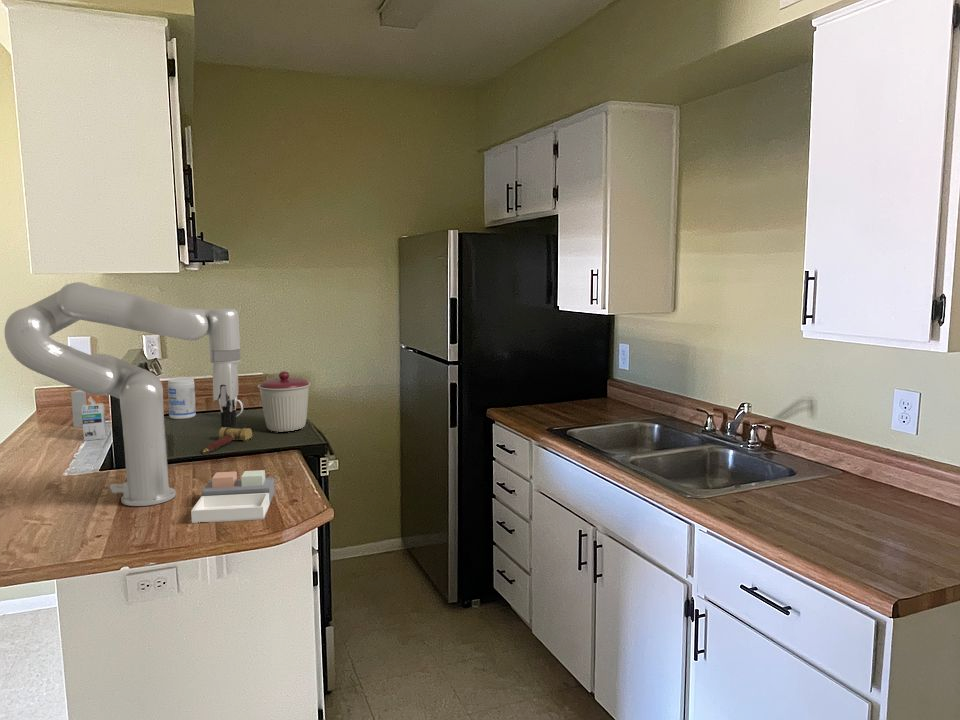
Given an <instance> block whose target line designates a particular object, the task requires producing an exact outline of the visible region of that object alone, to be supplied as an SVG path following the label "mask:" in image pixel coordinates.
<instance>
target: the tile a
mask: <svg viewBox="0 0 960 720" xmlns="http://www.w3.org/2000/svg"><path fill="white" fill-rule="evenodd" d="M237 473H238V472H237V471H220V472H219V471H217V472H215V473H214V475H212V478H211V480H212V488H223V487H234V485H235V484H236V482H237V479H238V474H237Z"/></svg>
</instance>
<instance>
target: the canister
mask: <svg viewBox="0 0 960 720" xmlns="http://www.w3.org/2000/svg"><path fill="white" fill-rule="evenodd" d="M310 386H311V382H309V381H308V380H306V379H304V378H299V377H290V373H289V372H288V371H284V370H283V371H281V372H279V374H278V378H276V377H275V378H271V379H266V380H264V381H261V383H260V384H258V385H257V388H258V389H259V393H260V399H261V403H262V410H263V411H262V412H263V417H264V420H265V421H264V423H265V425H266V427H267V429H268V430H269V431H270V430H271V431H270V432H272V431H277V432H276V433H278V431H279V432H283V431H294V430H298V429H301V428H302V429H304V428H305V426H306V424H307V423H306V422H307V416H308V415H307V414H308V406H309V405H308V404H309V391H310V390H309V389H310ZM303 427H304V428H303ZM302 429H301V430H302Z"/></svg>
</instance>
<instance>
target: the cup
mask: <svg viewBox="0 0 960 720" xmlns="http://www.w3.org/2000/svg"><path fill="white" fill-rule="evenodd" d="M218 403H219V408H220V410H221V405H220V399H219V400H218ZM237 403H239V404H240V411H239V413H238V414H236V418H237V417H239V416H241V414H242V413H243V411H244V406H243V402H242V401H241V400H240V399H238V396H237V397H236V398H235V409H233V410H236V411H237Z"/></svg>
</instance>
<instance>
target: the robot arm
mask: <svg viewBox="0 0 960 720" xmlns="http://www.w3.org/2000/svg"><path fill="white" fill-rule="evenodd" d="M239 317H240V316H239V312H238V310H237V309H235V308H230V307H229V308H228V307H226V308H225V307H222V308H212V309H206V308H196V307H188V308H182V307H177V306H173V305H169V304H164V303H159V302H156V301H153V300H150V299H147V298H144V297H143V296H140V295H137V294H133V293H127V292H123V291H118V290H114V289H108V288H103V287H99V286H93V285H90V284H88V283H84V282H81V281H80V282H78V281H77V282H71V283H67V284H66V285H64V286H62V288H61V289H60V290H57V292H56V291H55V292H54V293H52V294H50V295H48V296H47V297H45V298H43V299H41V300H38V301H37V302H35V303H33V304H31V305H28V306H26V307H22V308H20V309H17V310H16V311H14V312H12V313H11V314H10V316H8V318H7V319H6V322H5V325H4V340H5V344H6V346H7V349H8V351H9V353H10V354H11V355H12V356H13V357H14V359H15V360H16V361H17V362H18V363H20V364H21V365H22V366H24V367H25V368H27V369H29V370H31V371H33V372H34V373H35V372H36V373H38V374H40V375H42V376H45V377H47V378H50V379H53V380H55V381H57V382H58V383H61V384H64V385H67V386H69V387H72V388H75V389H77V390H81V391H83V392H86V393H88V394H91V395H97V396H100V395H101V396H104V395H107V396H108V395H109V396H111V397H114V398H116V399H119V405H120V414H121V416H120V417H121V424H122V436H123V447H124V459H125V460H124V461H125V472H126V473H125V474H126V481H125V482H123V483H111V484H110V486H109V491H110V492H111V494H112V495H113V494H122V496H121V498H120V499H121V500H120V501H121V503H122V504H123V505H125V506H128V507H129V506H130V507H147V506H154V505H155V506H156V505H158V504H162V503H165V502H169V501H171V500H172V499H174V498H175V497H176V496H177V492H176V489H175V488H173V487H170V485H169V471H168V470H169V469H168V456H167V455H168V454H167V442H166V427H165V416H164V415H165V413H164V387H163V383H162V380H161V379H160V377H159V376H158V375H156V374H155V373H154V372H151V371H149V370H148V369H144V368H143V367H140V366H137V365H135V364H132V363H130V362H127V361H126V360H123V359H121V358H118V357H115V356H114V355H113V356H112V355H110V354H106V353H94V354H89V353H86V352H83V351H81V350H78V349H76V348H74V347H72V346H69V345H67V344H64V343H62V342H59V341H56V340H55V339H53V338H52V337H50V336H52V335H55V334H56V333H58V332H60V331H61V330H63V329H66V328H67V327H70V326H72V324H75V323H78V322H79V321H85V322H89V323H90V322H91V323H96V324H103V325H107V326H113V327H118V328H121V329H122V328H123V329H128V330H132V331H136V332H144V333H147V334H148V333H149V334H154V335H157V336H158V335H159V336H162V337H168V338H173V339H178V340H183V341H184V340H185V341H190V342H192V341H197V340H199V339H201V338H204V336H208V345H209V347H208V348H209V363H210V364H212V365H213V366H212V400H213V402H214V403H216V402H219V399H220V404H219V406H220V405H221V409H220V423H221V424H220V425H221V428H222V427H229V428H234V427H235V426H236V425H237V417H236V416H237V409H236V410H233V409H235V398H236V397H237V398H238V396H239V372H238V363H240V362H242V358H241V354H242V353H241V337H240V335H241V333H240V318H239Z"/></svg>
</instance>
